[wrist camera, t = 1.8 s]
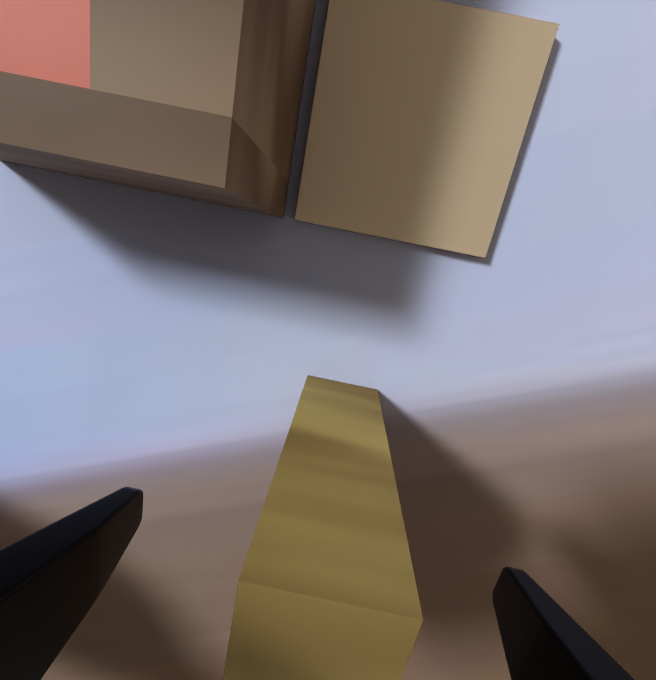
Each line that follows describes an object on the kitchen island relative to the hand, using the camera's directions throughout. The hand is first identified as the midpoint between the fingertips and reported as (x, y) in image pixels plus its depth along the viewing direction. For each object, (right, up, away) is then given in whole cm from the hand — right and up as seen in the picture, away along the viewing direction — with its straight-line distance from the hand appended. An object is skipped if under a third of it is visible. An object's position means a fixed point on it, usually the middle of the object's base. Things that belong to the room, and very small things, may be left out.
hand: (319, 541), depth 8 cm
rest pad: (+3, +12, +3) cm, 13 cm away
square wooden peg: (+1, +2, +6) cm, 7 cm away
